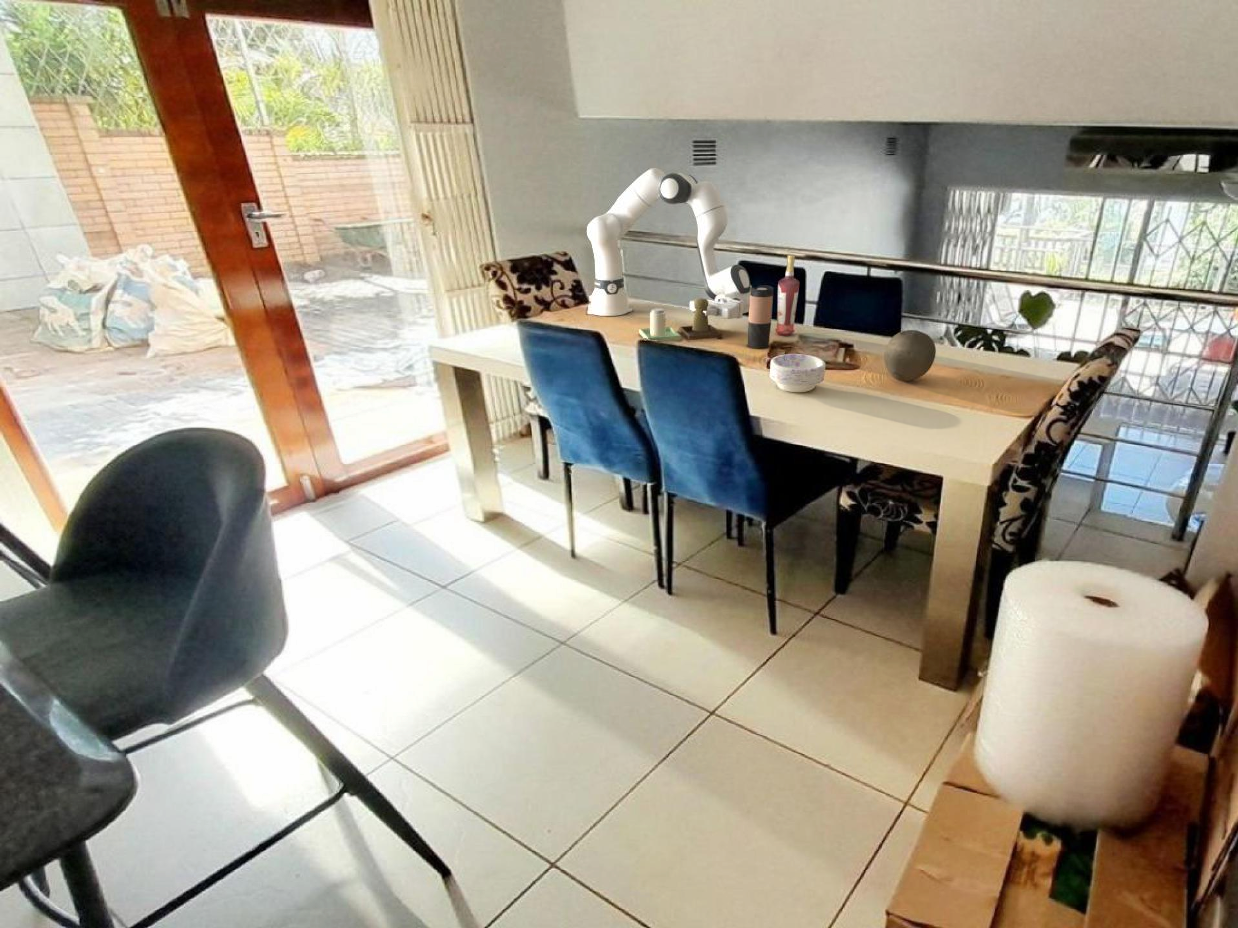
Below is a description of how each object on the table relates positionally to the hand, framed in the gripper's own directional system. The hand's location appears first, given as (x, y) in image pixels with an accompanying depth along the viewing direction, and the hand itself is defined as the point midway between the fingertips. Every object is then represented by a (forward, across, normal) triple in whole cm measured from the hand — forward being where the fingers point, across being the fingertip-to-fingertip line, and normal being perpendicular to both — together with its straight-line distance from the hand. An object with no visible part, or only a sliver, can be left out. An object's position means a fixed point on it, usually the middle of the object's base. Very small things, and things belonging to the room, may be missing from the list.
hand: (699, 312), depth 253 cm
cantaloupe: (-5, +78, +9) cm, 79 cm away
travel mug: (-5, +24, +9) cm, 26 cm away
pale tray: (+12, -8, +9) cm, 17 cm away
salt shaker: (+13, -8, +8) cm, 17 cm away
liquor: (-24, +21, +9) cm, 33 cm away
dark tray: (-1, 0, +9) cm, 9 cm away
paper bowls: (+22, +59, +9) cm, 64 cm away
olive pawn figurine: (-1, 0, +7) cm, 7 cm away
